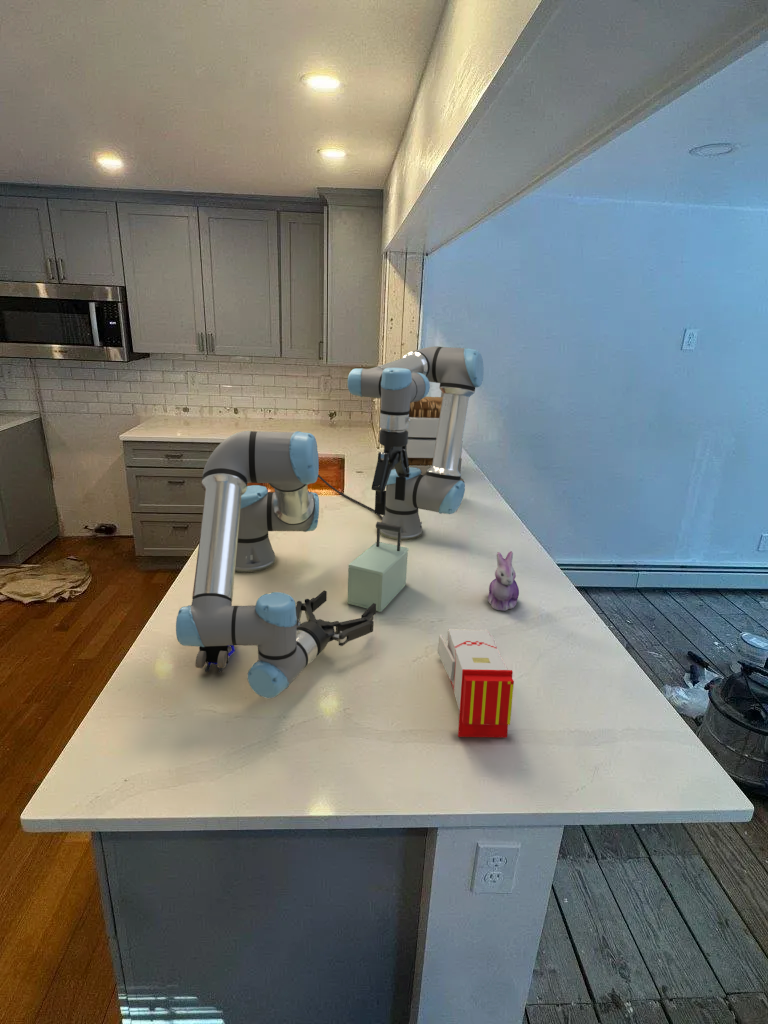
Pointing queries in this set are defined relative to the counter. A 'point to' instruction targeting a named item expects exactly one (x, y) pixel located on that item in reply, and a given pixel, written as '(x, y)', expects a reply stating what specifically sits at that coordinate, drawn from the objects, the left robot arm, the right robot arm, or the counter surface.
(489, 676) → the toy
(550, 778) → the counter surface
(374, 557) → the lid
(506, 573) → the figurine
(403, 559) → the chest
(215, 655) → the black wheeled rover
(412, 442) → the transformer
